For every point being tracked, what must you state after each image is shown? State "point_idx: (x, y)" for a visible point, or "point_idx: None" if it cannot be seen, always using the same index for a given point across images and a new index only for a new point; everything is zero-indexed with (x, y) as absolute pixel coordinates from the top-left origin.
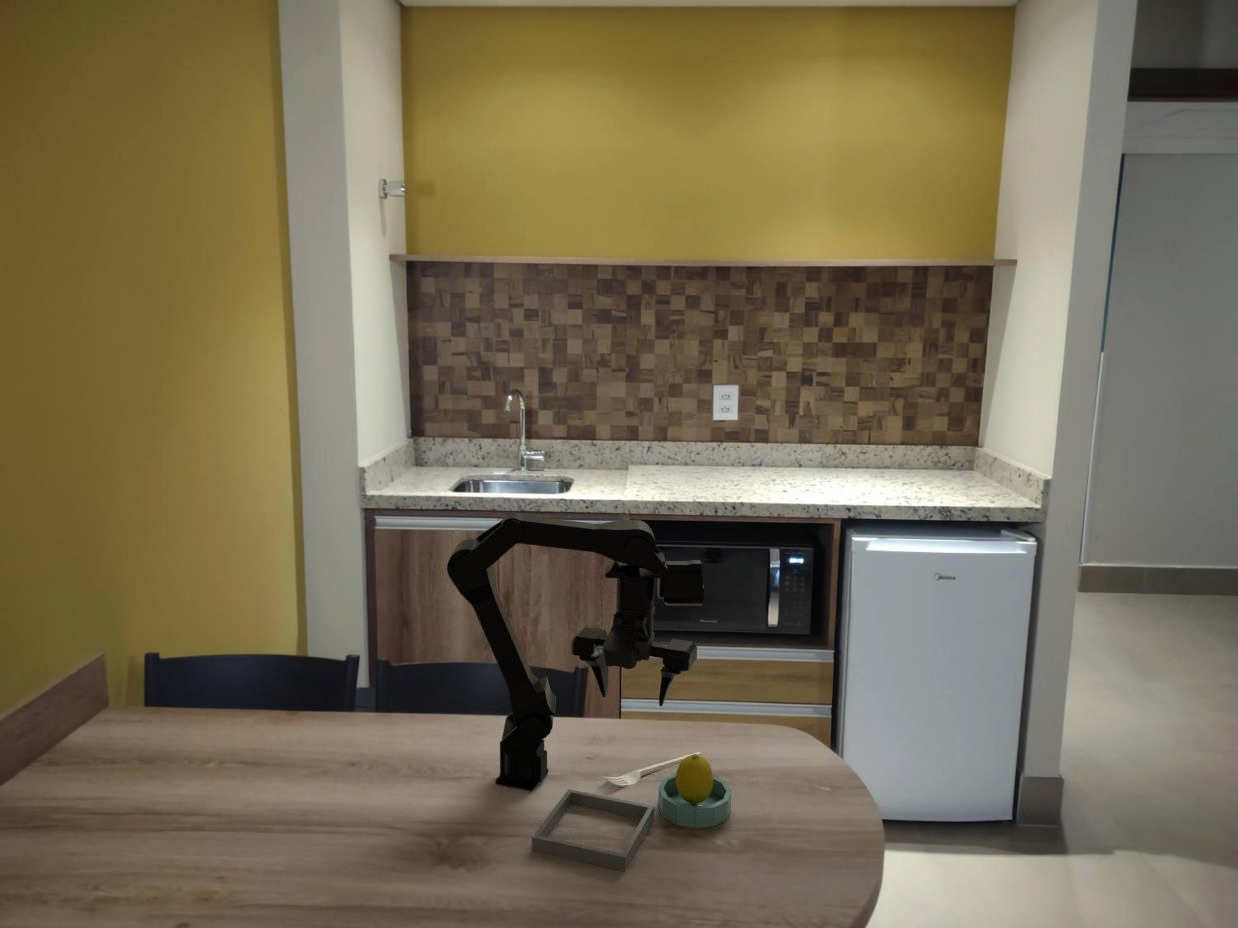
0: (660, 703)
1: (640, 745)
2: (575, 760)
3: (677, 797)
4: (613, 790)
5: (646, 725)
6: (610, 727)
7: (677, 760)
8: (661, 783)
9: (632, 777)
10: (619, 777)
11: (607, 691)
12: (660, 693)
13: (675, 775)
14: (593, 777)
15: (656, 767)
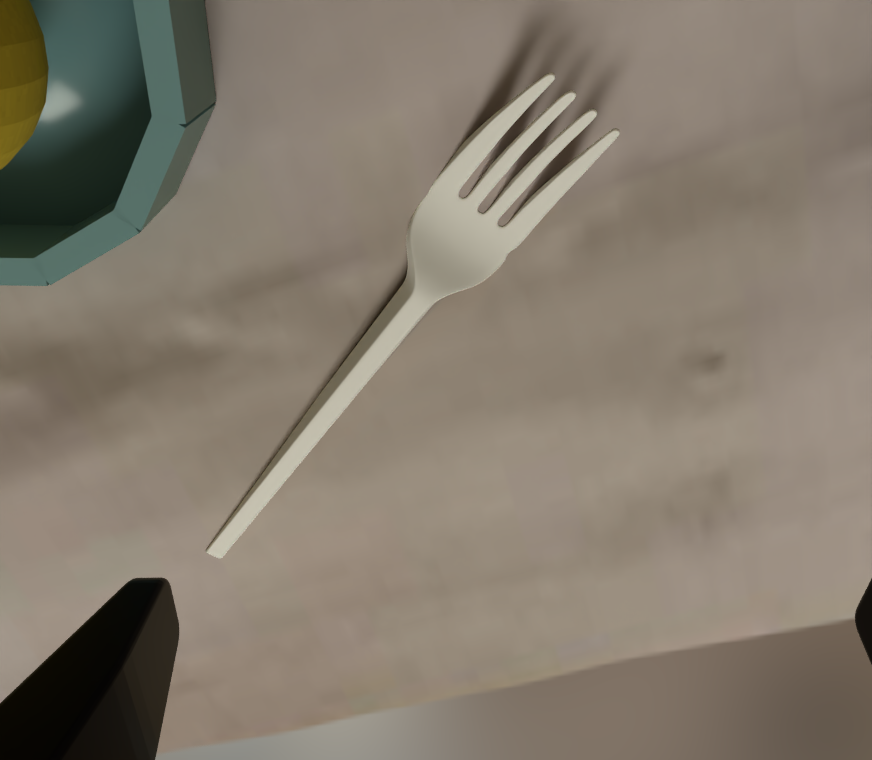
0: (132, 599)
1: (489, 528)
2: (776, 319)
3: (112, 88)
4: (518, 78)
5: (504, 660)
6: (649, 610)
7: (279, 460)
8: (173, 54)
9: (447, 247)
10: (517, 228)
11: (870, 657)
12: (55, 733)
13: (133, 197)
14: (658, 184)
15: (351, 367)
